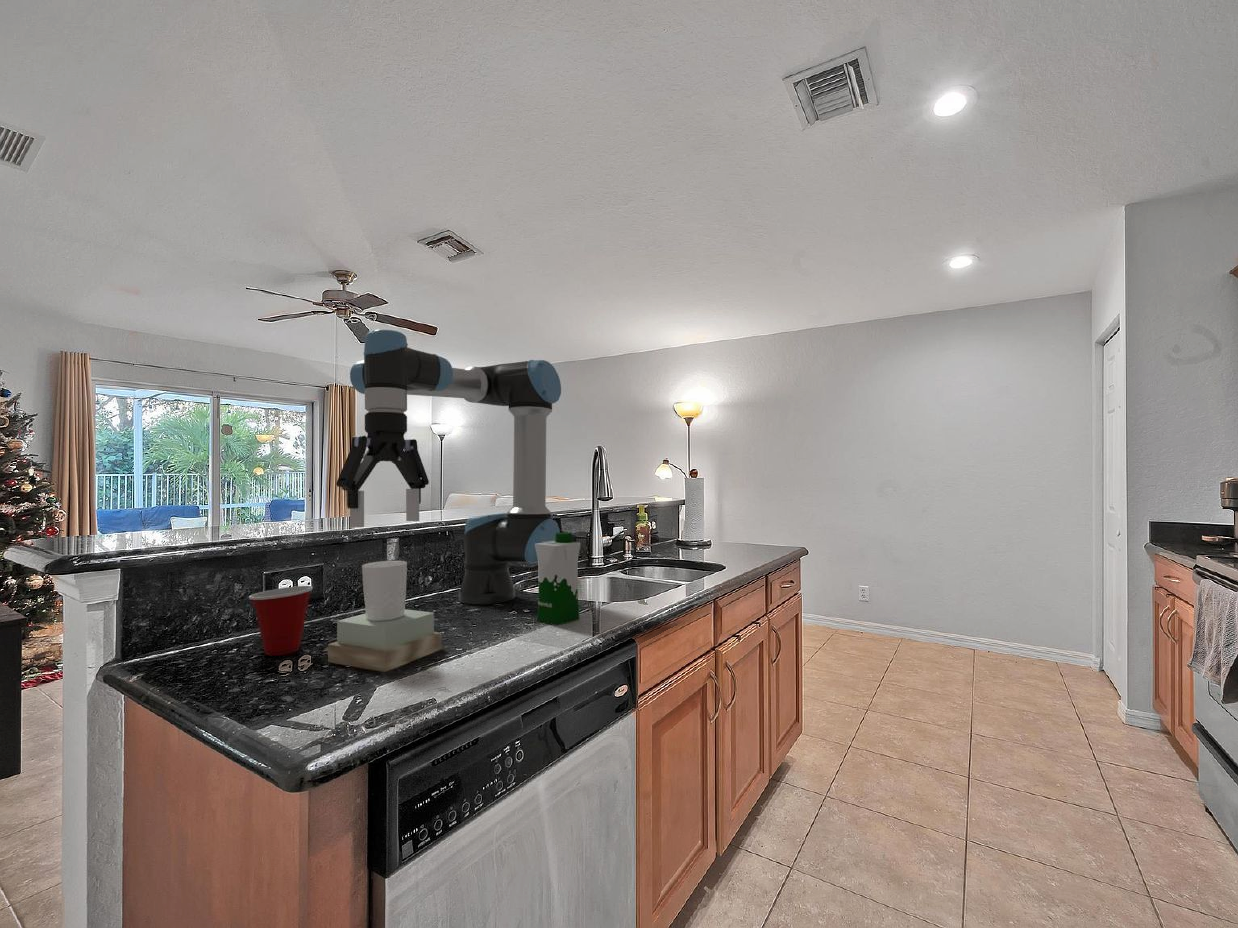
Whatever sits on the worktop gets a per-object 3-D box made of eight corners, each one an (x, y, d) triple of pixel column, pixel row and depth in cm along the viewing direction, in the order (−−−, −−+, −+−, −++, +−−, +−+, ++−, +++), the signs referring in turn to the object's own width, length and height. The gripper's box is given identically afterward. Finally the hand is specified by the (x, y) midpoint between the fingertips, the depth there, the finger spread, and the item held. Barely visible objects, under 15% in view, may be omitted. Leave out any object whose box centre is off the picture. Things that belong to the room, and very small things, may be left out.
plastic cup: (272, 642, 116) (273, 583, 116) (324, 643, 115) (324, 583, 115) (233, 660, 105) (234, 594, 105) (290, 660, 104) (290, 595, 105)
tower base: (387, 645, 116) (387, 625, 116) (441, 653, 110) (441, 632, 111) (328, 666, 103) (328, 644, 103) (385, 676, 98) (385, 653, 98)
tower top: (388, 626, 115) (388, 607, 115) (434, 633, 110) (434, 612, 110) (337, 642, 104) (337, 620, 104) (384, 650, 99) (384, 627, 99)
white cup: (394, 609, 113) (393, 559, 113) (416, 615, 108) (415, 562, 108) (354, 618, 107) (354, 564, 107) (376, 624, 102) (375, 568, 102)
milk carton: (585, 619, 133) (584, 533, 133) (556, 627, 126) (555, 536, 126) (559, 613, 138) (558, 531, 139) (530, 620, 132) (530, 534, 132)
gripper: (418, 419, 121) (418, 518, 121) (313, 406, 98) (314, 529, 98) (446, 417, 118) (446, 519, 118) (345, 404, 95) (345, 530, 95)
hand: (386, 524), depth 108 cm, fingers open, 13 cm apart
